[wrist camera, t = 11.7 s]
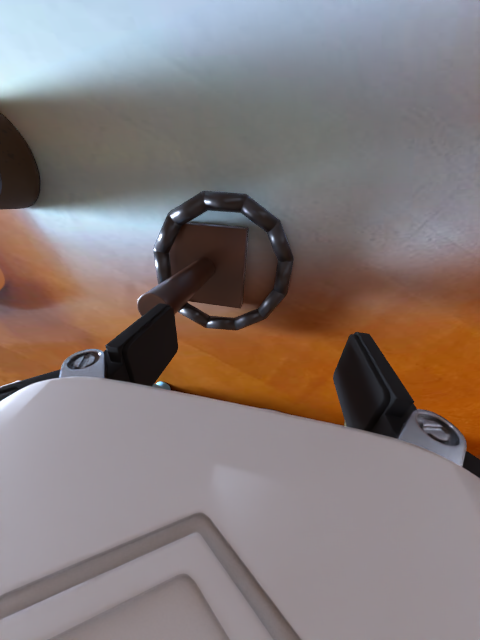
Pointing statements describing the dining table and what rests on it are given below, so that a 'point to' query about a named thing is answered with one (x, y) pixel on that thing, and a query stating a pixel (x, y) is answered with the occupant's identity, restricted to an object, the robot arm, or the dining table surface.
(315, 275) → the dining table surface
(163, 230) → the ring
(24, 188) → the olive oil
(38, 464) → the robot arm
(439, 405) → the dining table surface
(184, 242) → the peg
